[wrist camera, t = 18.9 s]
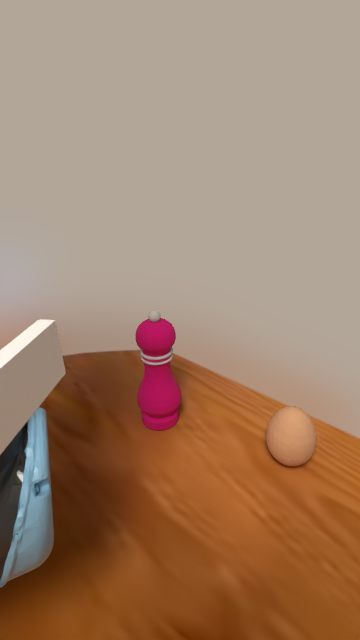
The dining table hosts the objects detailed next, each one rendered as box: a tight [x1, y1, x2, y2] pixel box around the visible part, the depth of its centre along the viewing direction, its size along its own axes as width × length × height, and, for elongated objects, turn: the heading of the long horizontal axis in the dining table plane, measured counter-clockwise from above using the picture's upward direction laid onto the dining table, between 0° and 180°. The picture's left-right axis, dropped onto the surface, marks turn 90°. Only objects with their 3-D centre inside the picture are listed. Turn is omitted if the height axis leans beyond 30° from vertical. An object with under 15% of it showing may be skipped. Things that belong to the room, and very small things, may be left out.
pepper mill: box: [136, 310, 181, 431], centre depth 52 cm, size 7×7×20 cm
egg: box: [266, 406, 317, 466], centre depth 46 cm, size 7×7×9 cm
